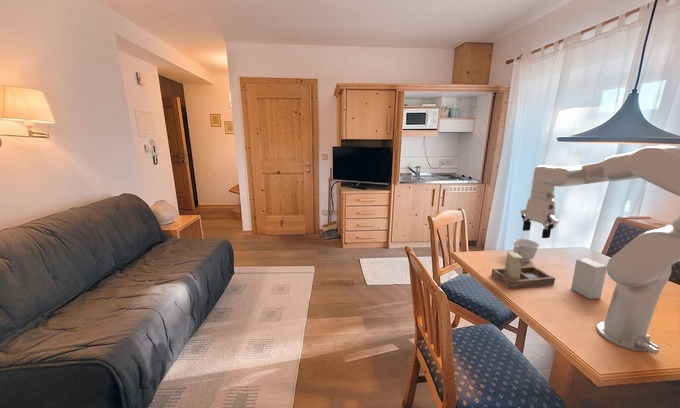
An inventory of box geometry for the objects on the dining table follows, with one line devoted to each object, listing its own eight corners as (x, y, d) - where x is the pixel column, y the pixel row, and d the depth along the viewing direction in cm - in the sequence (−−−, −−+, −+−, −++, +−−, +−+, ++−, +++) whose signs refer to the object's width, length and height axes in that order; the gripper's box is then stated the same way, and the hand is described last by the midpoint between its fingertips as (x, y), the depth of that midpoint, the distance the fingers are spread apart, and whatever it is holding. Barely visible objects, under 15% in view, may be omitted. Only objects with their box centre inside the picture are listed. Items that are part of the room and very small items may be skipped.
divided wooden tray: (553, 284, 122) (555, 278, 121) (509, 288, 119) (511, 282, 118) (532, 271, 133) (533, 265, 132) (491, 275, 130) (492, 269, 129)
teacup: (501, 258, 148) (504, 241, 145) (519, 253, 154) (522, 237, 151) (523, 267, 137) (526, 249, 135) (541, 262, 143) (545, 245, 140)
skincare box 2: (600, 298, 112) (609, 266, 108) (588, 299, 111) (596, 267, 107) (580, 287, 120) (588, 257, 116) (568, 288, 119) (576, 258, 115)
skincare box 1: (519, 282, 122) (524, 258, 119) (509, 281, 123) (513, 257, 119) (513, 275, 128) (517, 252, 125) (503, 274, 129) (507, 251, 126)
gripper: (569, 199, 104) (562, 240, 107) (531, 191, 120) (526, 227, 124) (553, 200, 102) (546, 241, 106) (517, 192, 119) (512, 228, 123)
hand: (535, 233), depth 115 cm, fingers open, 9 cm apart
